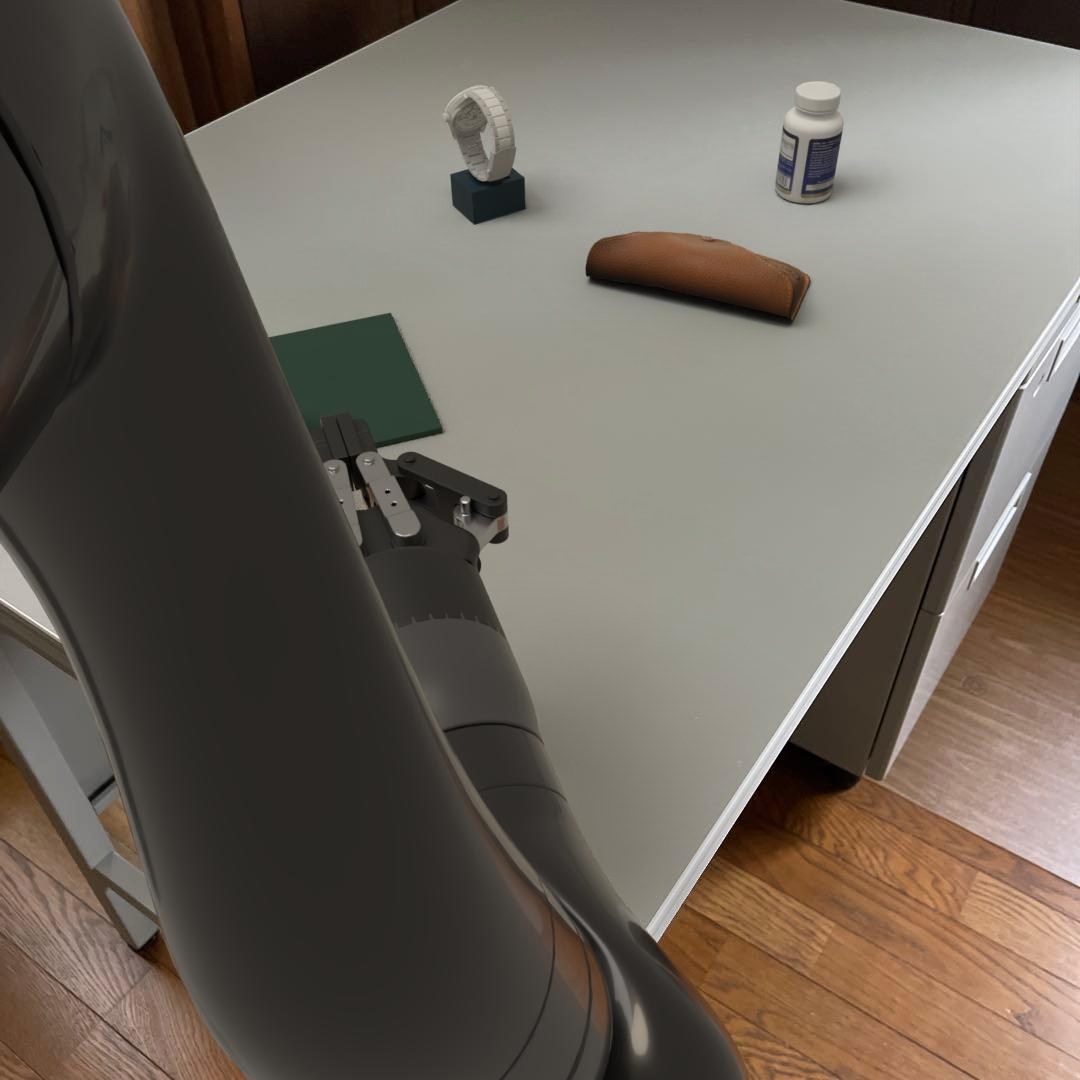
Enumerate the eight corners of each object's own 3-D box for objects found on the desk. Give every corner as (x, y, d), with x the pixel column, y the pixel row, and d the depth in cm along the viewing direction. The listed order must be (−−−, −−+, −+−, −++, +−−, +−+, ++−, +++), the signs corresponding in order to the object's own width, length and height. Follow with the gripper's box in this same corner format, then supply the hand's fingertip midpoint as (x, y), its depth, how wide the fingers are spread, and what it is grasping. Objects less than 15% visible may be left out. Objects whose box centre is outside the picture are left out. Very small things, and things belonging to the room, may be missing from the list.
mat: (193, 489, 77) (191, 484, 76) (170, 362, 88) (168, 357, 87) (442, 432, 81) (442, 427, 80) (391, 317, 92) (390, 312, 91)
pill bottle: (837, 184, 106) (856, 82, 99) (823, 209, 103) (841, 106, 96) (783, 174, 108) (797, 73, 101) (767, 198, 105) (781, 96, 98)
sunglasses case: (815, 270, 94) (816, 228, 88) (792, 344, 93) (791, 306, 87) (617, 232, 100) (605, 190, 93) (592, 301, 98) (578, 263, 92)
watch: (493, 181, 108) (487, 68, 100) (535, 216, 103) (532, 99, 95) (442, 196, 106) (432, 82, 98) (482, 232, 101) (474, 115, 93)
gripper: (584, 584, 42) (458, 338, 54) (236, 676, 39) (183, 395, 51) (581, 702, 48) (467, 455, 59) (274, 791, 45) (218, 512, 56)
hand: (335, 427), depth 55 cm, fingers closed
